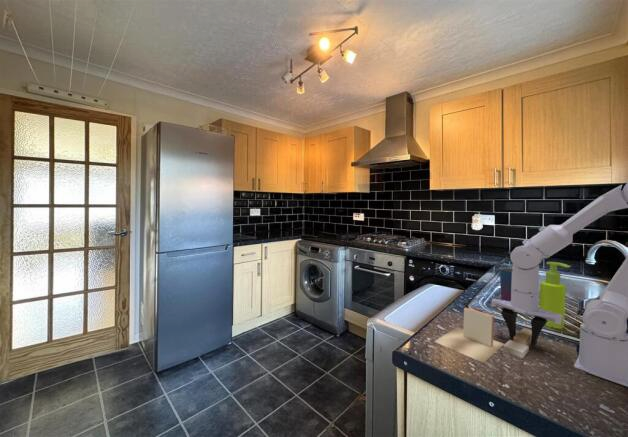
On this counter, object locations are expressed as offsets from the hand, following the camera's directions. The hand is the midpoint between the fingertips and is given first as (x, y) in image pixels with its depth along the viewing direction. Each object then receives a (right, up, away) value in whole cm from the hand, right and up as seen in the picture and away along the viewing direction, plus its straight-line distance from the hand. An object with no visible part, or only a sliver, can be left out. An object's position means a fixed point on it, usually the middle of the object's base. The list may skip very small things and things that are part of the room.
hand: (523, 340), depth 69 cm
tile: (-11, -1, +2) cm, 11 cm away
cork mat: (-14, -1, +1) cm, 14 cm away
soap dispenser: (+20, -1, +12) cm, 23 cm away
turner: (-1, -2, -1) cm, 2 cm away
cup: (+15, -1, +24) cm, 28 cm away
